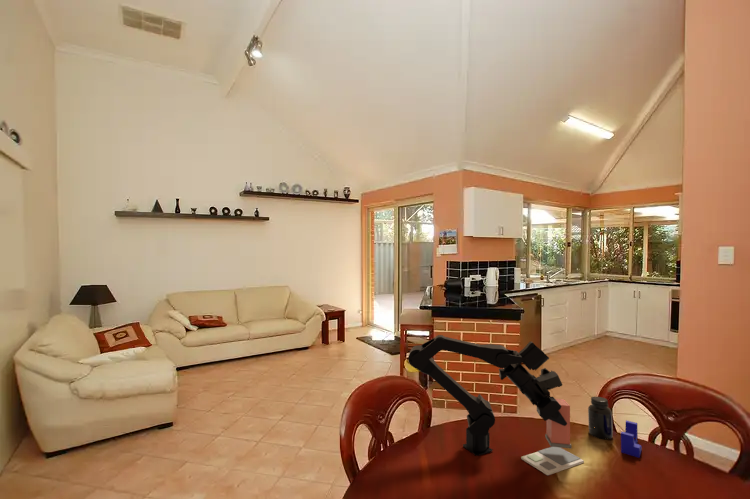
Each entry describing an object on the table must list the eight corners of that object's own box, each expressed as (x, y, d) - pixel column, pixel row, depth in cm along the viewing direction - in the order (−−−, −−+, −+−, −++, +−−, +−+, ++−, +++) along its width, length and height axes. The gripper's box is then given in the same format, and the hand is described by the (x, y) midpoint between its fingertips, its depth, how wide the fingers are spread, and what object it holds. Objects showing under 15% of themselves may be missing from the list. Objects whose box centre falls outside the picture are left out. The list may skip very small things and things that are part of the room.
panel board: (547, 475, 97) (547, 472, 97) (521, 458, 105) (521, 455, 105) (583, 462, 103) (583, 459, 103) (556, 447, 112) (556, 445, 112)
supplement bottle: (605, 430, 123) (605, 395, 124) (617, 440, 116) (616, 403, 117) (584, 429, 124) (584, 394, 124) (594, 439, 117) (594, 402, 118)
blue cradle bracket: (639, 458, 106) (639, 437, 107) (621, 453, 109) (620, 433, 109) (643, 443, 115) (643, 424, 116) (626, 438, 118) (626, 420, 118)
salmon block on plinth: (550, 446, 104) (550, 404, 105) (545, 437, 110) (545, 397, 110) (571, 448, 103) (571, 406, 104) (564, 439, 109) (564, 399, 109)
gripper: (553, 371, 99) (597, 416, 96) (535, 354, 117) (572, 391, 115) (522, 398, 100) (565, 443, 98) (510, 377, 118) (546, 414, 116)
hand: (562, 420), depth 106 cm, fingers closed on salmon block on plinth, 5 cm apart
